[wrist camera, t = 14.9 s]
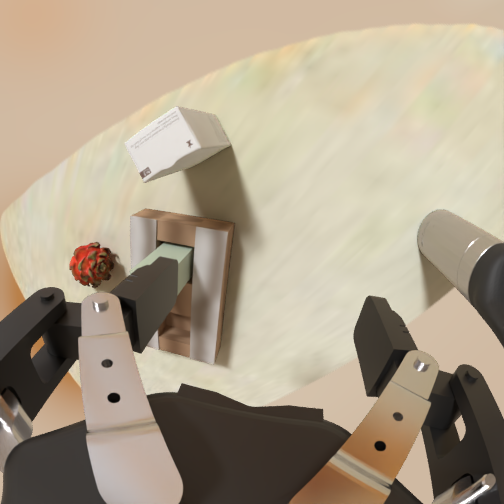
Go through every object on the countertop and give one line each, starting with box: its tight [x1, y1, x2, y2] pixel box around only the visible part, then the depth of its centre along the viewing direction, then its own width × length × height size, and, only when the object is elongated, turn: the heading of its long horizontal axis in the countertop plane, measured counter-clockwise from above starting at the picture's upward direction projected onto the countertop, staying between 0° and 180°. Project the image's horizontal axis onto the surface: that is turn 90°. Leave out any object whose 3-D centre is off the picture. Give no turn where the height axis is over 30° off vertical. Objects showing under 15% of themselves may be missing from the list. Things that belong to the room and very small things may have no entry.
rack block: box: [130, 209, 235, 364], centre depth 48 cm, size 16×26×5 cm, turn 172°
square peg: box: [130, 241, 195, 296], centre depth 41 cm, size 5×5×14 cm
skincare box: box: [125, 106, 231, 183], centre depth 34 cm, size 8×6×15 cm
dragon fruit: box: [70, 242, 114, 288], centre depth 48 cm, size 8×8×12 cm
